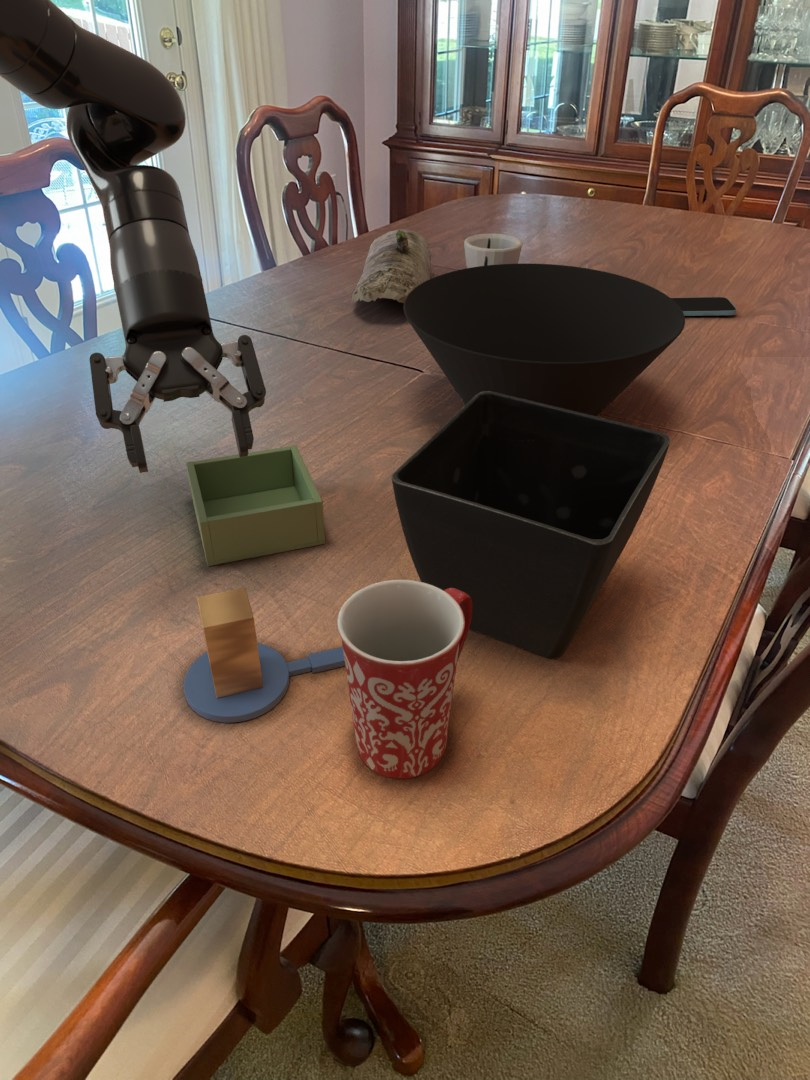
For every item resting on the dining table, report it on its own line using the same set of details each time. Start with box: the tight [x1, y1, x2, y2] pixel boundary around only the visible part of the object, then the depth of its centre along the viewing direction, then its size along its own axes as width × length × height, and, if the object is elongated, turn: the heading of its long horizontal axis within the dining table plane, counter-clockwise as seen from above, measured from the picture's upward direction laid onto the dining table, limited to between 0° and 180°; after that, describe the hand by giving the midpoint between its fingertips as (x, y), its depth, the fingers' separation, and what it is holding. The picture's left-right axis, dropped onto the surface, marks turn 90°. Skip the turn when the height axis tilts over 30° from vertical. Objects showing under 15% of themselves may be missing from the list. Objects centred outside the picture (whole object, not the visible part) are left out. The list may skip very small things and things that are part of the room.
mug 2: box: [463, 233, 523, 268], centre depth 150 cm, size 10×15×10 cm
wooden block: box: [196, 587, 263, 698], centre depth 68 cm, size 4×4×8 cm
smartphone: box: [670, 296, 738, 317], centre depth 145 cm, size 7×1×15 cm
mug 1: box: [336, 579, 472, 779], centre depth 63 cm, size 13×9×14 cm
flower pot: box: [391, 391, 672, 660], centre depth 75 cm, size 19×19×17 cm
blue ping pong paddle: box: [183, 642, 345, 724], centre depth 72 cm, size 18×9×1 cm, turn 109°
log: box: [351, 228, 432, 304], centre depth 148 cm, size 14×12×30 cm
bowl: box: [403, 262, 686, 417], centre depth 109 cm, size 36×36×15 cm
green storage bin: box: [185, 444, 326, 567], centre depth 89 cm, size 13×13×6 cm
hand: (194, 462), depth 70 cm, fingers open, 8 cm apart
